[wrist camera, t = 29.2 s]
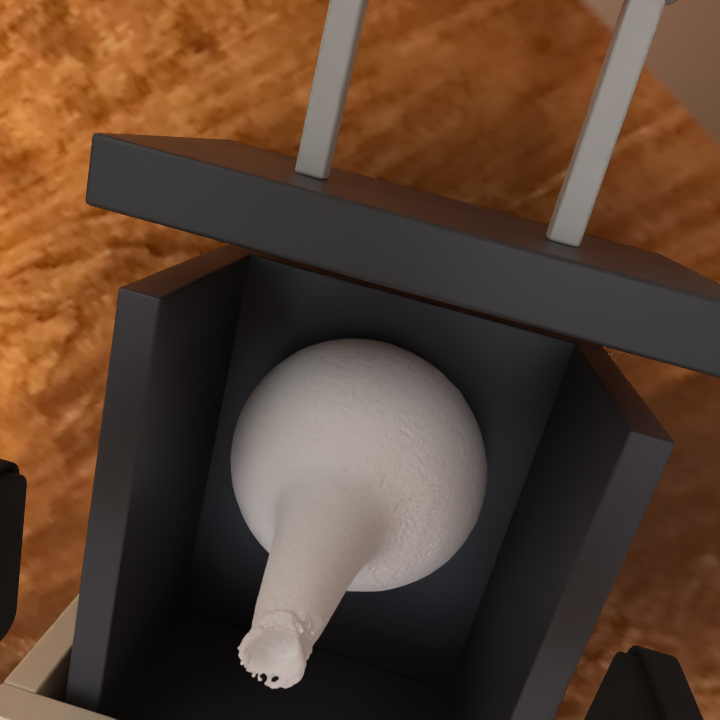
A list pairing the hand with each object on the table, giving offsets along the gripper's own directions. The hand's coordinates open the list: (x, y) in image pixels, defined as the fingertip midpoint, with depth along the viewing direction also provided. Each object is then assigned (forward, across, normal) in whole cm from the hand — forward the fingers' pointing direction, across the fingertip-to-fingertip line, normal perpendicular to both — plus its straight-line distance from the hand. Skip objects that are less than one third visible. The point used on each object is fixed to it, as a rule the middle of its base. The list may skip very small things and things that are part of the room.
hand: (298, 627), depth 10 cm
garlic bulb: (+8, 0, +1) cm, 8 cm away
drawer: (+9, 0, -2) cm, 9 cm away
